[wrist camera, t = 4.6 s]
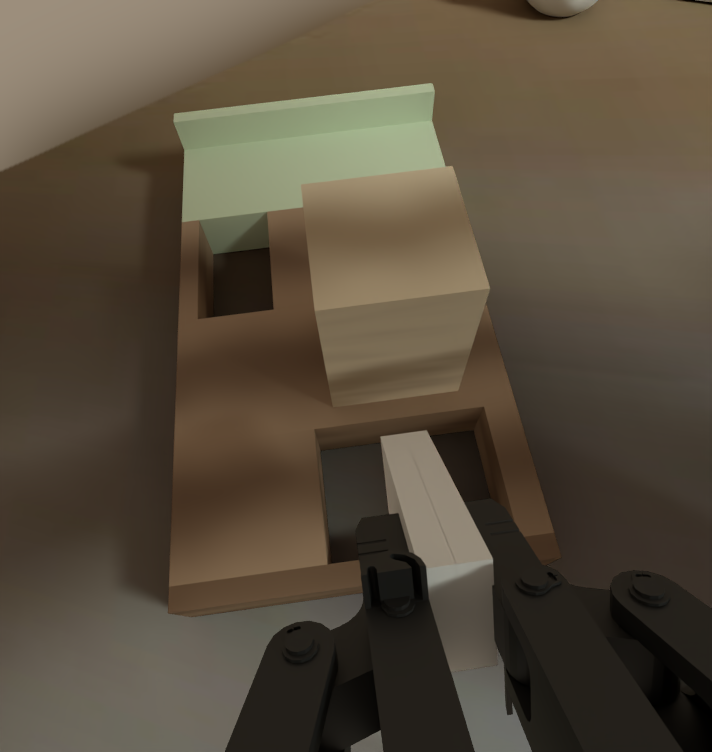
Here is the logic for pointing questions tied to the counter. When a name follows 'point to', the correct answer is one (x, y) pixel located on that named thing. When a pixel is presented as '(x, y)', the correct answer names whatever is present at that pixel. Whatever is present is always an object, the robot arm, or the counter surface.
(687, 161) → the counter surface
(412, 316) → the maple block
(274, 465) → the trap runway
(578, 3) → the teacup
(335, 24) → the counter surface
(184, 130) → the pad
